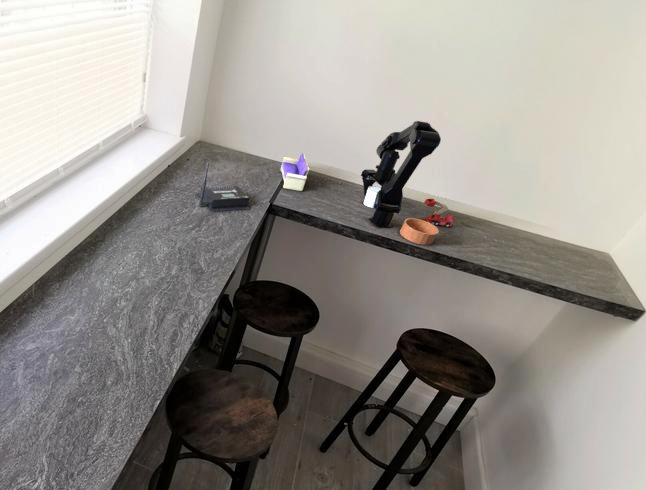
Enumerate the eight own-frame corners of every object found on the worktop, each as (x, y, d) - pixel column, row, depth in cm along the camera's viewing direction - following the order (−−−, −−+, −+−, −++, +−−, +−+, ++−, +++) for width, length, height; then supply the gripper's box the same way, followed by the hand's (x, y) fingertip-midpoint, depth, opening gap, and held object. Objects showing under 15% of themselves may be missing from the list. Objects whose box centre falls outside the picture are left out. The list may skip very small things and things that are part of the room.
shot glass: (376, 210, 203) (383, 194, 198) (360, 204, 205) (366, 189, 201) (380, 204, 208) (386, 189, 203) (364, 199, 210) (370, 184, 206)
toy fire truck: (451, 227, 198) (463, 206, 192) (418, 222, 198) (429, 200, 192) (448, 224, 201) (460, 202, 195) (415, 218, 201) (426, 197, 195)
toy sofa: (279, 170, 224) (285, 148, 218) (298, 173, 224) (304, 151, 218) (282, 188, 208) (289, 165, 202) (302, 192, 208) (310, 169, 201)
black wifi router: (233, 192, 198) (242, 151, 188) (249, 209, 188) (261, 166, 178) (188, 195, 191) (196, 152, 181) (203, 212, 181) (212, 168, 171)
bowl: (412, 245, 182) (418, 234, 179) (393, 228, 191) (398, 218, 188) (440, 244, 185) (445, 234, 182) (419, 228, 194) (424, 218, 191)
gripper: (418, 175, 191) (401, 211, 200) (390, 157, 205) (375, 191, 214) (394, 175, 188) (377, 211, 198) (367, 156, 202) (353, 190, 212)
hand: (371, 200), depth 205 cm, fingers open, 9 cm apart
